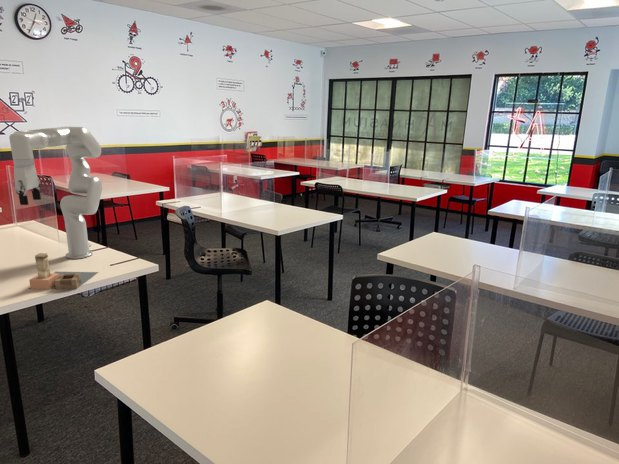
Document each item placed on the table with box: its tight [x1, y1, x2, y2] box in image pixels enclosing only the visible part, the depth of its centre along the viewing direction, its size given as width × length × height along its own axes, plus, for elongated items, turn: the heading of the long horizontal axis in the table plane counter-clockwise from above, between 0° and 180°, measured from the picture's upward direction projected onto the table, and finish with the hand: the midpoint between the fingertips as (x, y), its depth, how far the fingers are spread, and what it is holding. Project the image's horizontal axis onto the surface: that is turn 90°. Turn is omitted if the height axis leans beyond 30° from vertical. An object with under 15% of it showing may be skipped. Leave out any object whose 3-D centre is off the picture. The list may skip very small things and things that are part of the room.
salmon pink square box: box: [28, 272, 59, 290], centre depth 191 cm, size 8×8×4 cm
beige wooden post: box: [34, 252, 51, 279], centre depth 190 cm, size 3×3×14 cm
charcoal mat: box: [28, 271, 100, 291], centre depth 198 cm, size 21×20×1 cm
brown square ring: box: [55, 273, 81, 291], centre depth 191 cm, size 8×8×4 cm
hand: (31, 202), depth 195 cm, fingers open, 9 cm apart
